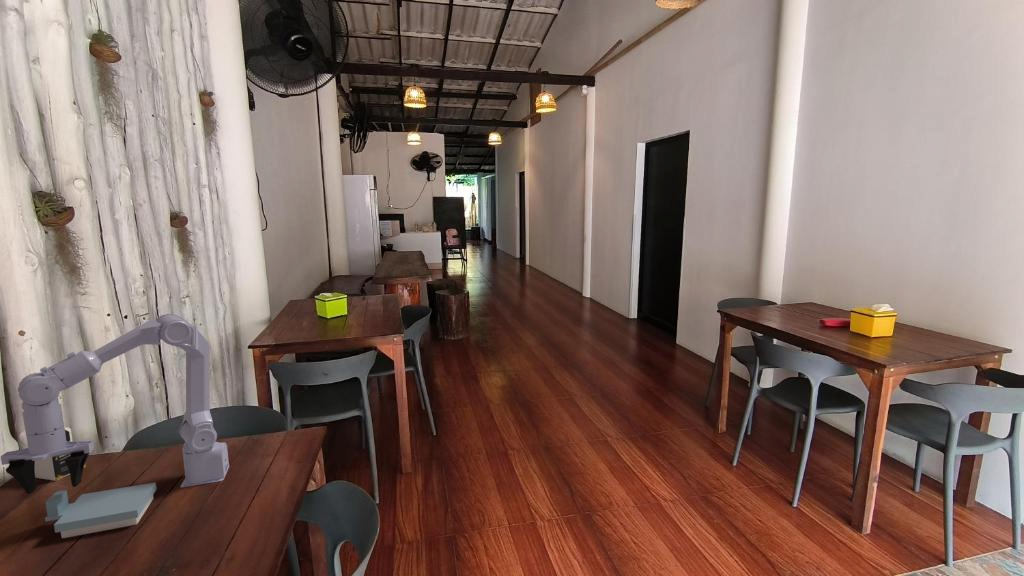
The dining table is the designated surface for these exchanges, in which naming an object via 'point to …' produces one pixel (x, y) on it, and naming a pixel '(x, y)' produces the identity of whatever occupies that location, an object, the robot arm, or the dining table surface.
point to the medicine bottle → (54, 464)
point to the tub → (105, 525)
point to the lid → (98, 507)
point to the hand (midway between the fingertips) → (54, 487)
